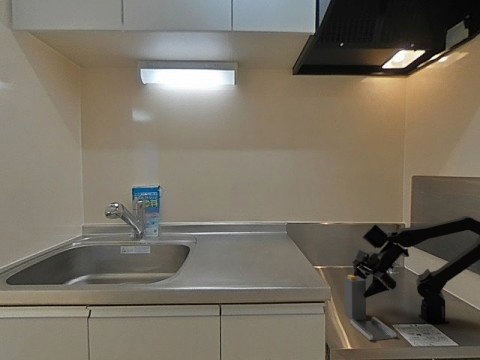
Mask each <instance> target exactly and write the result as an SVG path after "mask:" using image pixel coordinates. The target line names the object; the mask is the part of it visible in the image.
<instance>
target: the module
mask: <svg viewBox="0 0 480 360" xmlns="http://www.w3.org/2000/svg"><path fill="white" fill-rule="evenodd" d="M353 275H354V274H347V276H344V278H343V279H344V282H343V283H344V315H345V316H346V317H347V318H348V319H354V320H355V321H360V320H361V321H362V320H363V321H364V320H367V298H365V297H364V296H363V295H364V293H365V292H366V290H367V285H366V282H367V281H366V279H365V280H364V279H362V278H361V277H359V276H353Z"/></svg>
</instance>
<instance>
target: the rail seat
mask: <svg viewBox="0 0 480 360" xmlns="http://www.w3.org/2000/svg"><path fill="white" fill-rule="evenodd" d="M349 319H350V318H349ZM349 322H350V325H351V326H352V327H354V329H356V330H357V331H358V333H360V334H362V336H364V337H365V338H366V339H367V340H368V341H369V342H373V341H382V340H390V339H396V338H397V332H395V331H394V330H393V329H391V328H390V327H389V326H388V325H386V324H385V323H383V322H382V321H381V320H380V319H378V318H377V317H375V316H371V320H365V321H364V320H363V321H357V320H354V319H350V321H349Z"/></svg>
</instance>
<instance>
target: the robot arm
mask: <svg viewBox="0 0 480 360" xmlns="http://www.w3.org/2000/svg"><path fill="white" fill-rule="evenodd" d="M465 231H470V232H472V233H474V234H476V235H477V236H478V238H477V239H476V241H475V242H474V243H473V244H472V245H470V246H469V247H468V248H466V249H465V250H463V251H462V252H461V253H459V254H458V255H457V256H455V257H454V258H453V259H451V260H450V261H448V262H446V263H445V264H443V265H442V266H441V267H439V268H438V269H436V270H433V271H431V270H430V269H428V268H427V269H425V270H424V272H422V273H421V274H418V276H417V277H418V278H416V280H415V286H416V289H417V290H416V291H417V293H418V295H419V296H420V297H421V298H423V299H421V304H420V313H419V314H418V317H419V318H421V319H423V320H424V321H426V322H427V323H428V324H429V323H430V324H431V325H437V324H449V323H450V319H449V320H448V319H447V318H446V299H445V297H444V294H443V292H442V291H443V290H444V287H446V285H447V284H448V282H450V281H451V280H452V279H453V278H455V277H457V276H458V275H460V274H461V273H462V272H464V271H465V270H466V269H468V268H469V267H471V266H472V265H474V264H475V263H477V262H478V261H480V221H478V220H476V219H475V218H473V217H472V216H468V215H464V216H462V217H458V218H455V219H450V220H447V221H444V222H438V223H435V224H430V225H427V226H412V227H402V228H399V229H398V230H397V231H394V232H388V233H387V232H386V231H384V230H383V229H382V228H381V227H380V226H379V225H378V224H376V223H374V224H373V225H372V226H371V228H369V229H368V230H367V231H366V232H365V233H364V234H363V236H362V237H361V238H362V239H363V240H365V242H367V243H368V244H369V245H371V246H372V247H373V248H374V249H376V248H377V249H380V251H379V252H378V253H377V252H372V251H370V252H369V253H367V252H365V251H363V250H361V249H359V250H358V252H357V254H356V257H355V259H354V260H353V262H351V263H352V267H353V271H354V272H353V274H352V275H353V276H359V277H361V278H362V279H364V280H366V279H368V276H370V275H371V276H372V281H371V283H370V284H369V286H368V287H367V288H366V292H365V293H364V295H363V296H364V297H365V298H366V299H367V298H369V297H371V296H374V295H377V294H380V293H383V292H386V291H387V292H389V291H390V290H391V291H394V290H395V289H396V288H397V281H396V280H395V279H394V278H393V277H392V276H391V275H390V274H389V273H388V271H389V270H392V271H393V269H394V268H395V266H393V265H394V264H395V263H396V262H397V261H398V259H399V258H400V257H401V256H403V257H404V258H408V257H409V258H410V254H409V249H408V248H411V247H414V246H416V245H419V244H421V243H423V242H425V241H427V240H430V239H433V238H439V237H443V236H447V235H451V234H455V233H456V234H457V233H461V232H465ZM382 247H383V248H382ZM381 248H382V249H381Z"/></svg>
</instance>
